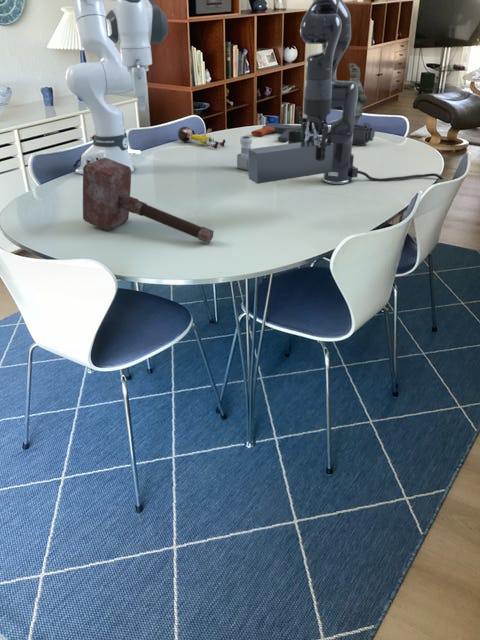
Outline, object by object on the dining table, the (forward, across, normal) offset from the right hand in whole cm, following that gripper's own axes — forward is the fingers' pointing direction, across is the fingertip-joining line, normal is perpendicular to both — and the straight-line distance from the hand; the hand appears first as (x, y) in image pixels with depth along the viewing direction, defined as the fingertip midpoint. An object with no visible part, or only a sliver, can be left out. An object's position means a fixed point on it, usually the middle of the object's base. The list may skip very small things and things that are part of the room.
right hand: (314, 157), depth 161 cm
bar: (+4, 0, +8) cm, 9 cm away
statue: (+18, +92, -79) cm, 122 cm away
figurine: (+17, +103, -3) cm, 105 cm away
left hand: (-12, +37, +40) cm, 56 cm away
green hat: (+17, +67, -36) cm, 78 cm away
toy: (+18, +69, -64) cm, 96 cm away
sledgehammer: (+17, +8, +49) cm, 53 cm away
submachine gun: (+18, +98, -45) cm, 109 cm away
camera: (+17, +52, -6) cm, 55 cm away
